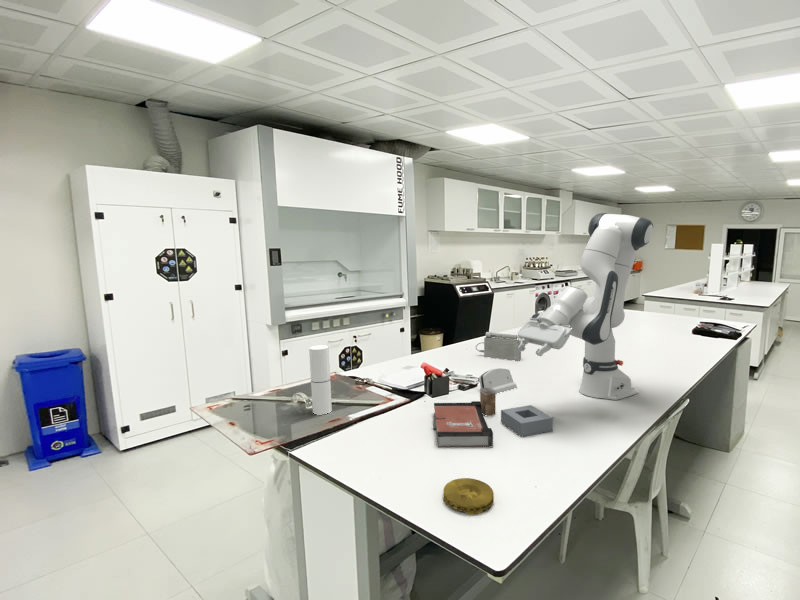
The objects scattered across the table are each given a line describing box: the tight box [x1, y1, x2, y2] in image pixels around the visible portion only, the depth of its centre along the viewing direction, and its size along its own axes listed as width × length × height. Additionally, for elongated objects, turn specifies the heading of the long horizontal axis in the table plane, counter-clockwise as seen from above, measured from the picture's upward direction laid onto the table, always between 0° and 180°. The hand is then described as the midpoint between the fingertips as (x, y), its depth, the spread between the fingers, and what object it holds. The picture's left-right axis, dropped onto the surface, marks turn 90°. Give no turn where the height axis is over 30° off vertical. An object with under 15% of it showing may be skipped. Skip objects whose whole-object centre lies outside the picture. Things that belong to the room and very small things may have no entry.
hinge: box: [478, 367, 518, 395], centre depth 179 cm, size 17×5×10 cm, turn 123°
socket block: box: [500, 404, 554, 438], centre depth 142 cm, size 12×12×4 cm
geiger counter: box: [475, 331, 522, 362], centre depth 228 cm, size 14×6×25 cm
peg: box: [479, 387, 497, 416], centre depth 154 cm, size 4×4×9 cm
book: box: [433, 400, 494, 448], centre depth 142 cm, size 26×18×5 cm
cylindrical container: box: [308, 344, 333, 416], centre depth 158 cm, size 7×7×25 cm
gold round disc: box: [442, 477, 495, 515], centre depth 102 cm, size 12×12×2 cm
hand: (528, 352), depth 144 cm, fingers open, 8 cm apart
